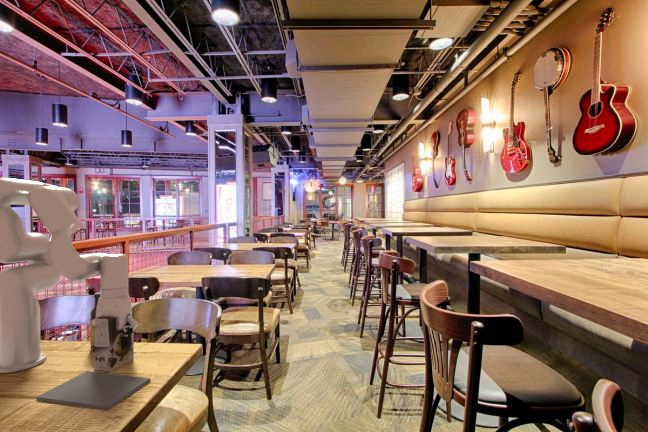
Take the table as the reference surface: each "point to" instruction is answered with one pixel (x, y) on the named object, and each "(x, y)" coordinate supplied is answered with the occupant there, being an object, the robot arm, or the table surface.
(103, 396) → the rubber mat
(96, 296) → the sauce bottle
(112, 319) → the coffee box
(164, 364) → the table surface
